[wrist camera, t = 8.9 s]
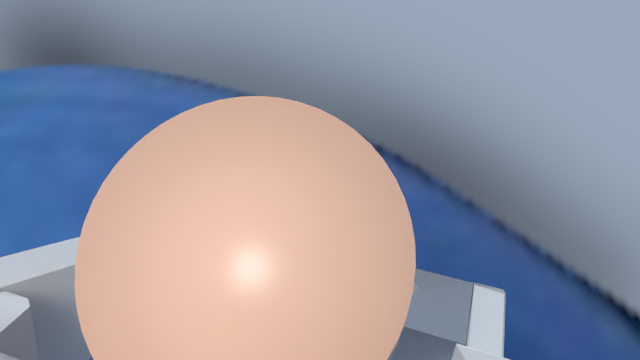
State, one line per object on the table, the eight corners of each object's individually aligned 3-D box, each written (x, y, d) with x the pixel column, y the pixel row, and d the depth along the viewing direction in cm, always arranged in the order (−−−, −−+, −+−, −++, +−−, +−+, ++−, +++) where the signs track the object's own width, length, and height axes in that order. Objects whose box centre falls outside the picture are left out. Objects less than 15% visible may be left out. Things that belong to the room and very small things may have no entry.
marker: (417, 379, 15) (454, 406, 5) (282, 403, 15) (80, 474, 5) (387, 245, 16) (375, 66, 6) (262, 270, 16) (68, 132, 6)
